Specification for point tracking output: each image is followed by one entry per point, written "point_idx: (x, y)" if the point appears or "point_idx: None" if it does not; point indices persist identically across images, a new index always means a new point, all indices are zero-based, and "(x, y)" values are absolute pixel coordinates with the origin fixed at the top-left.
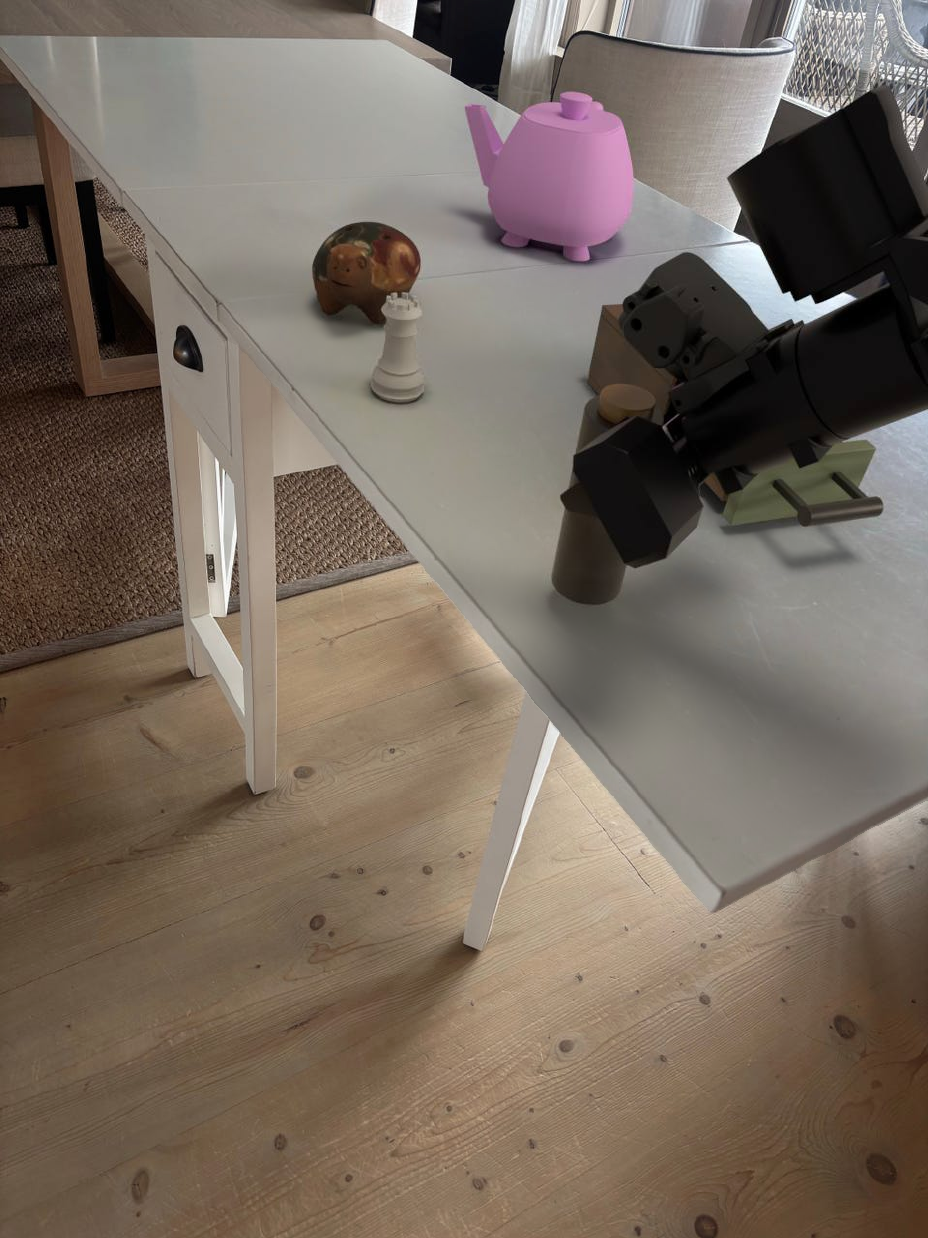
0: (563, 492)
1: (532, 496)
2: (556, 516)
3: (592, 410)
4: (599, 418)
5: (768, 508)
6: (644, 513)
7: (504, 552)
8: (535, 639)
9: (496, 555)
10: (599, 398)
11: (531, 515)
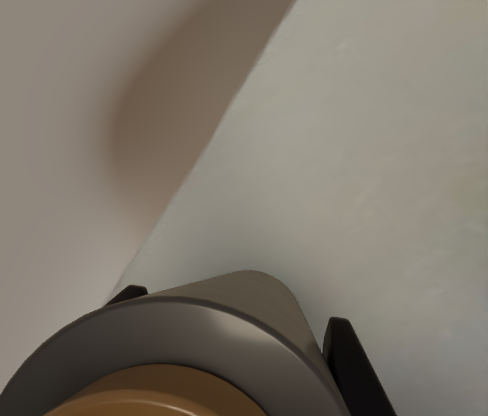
0: (117, 295)
1: (459, 143)
2: (433, 199)
3: (93, 352)
4: (38, 413)
5: None
6: None
7: (296, 173)
8: (149, 293)
9: (282, 167)
10: (229, 337)
11: (409, 165)
